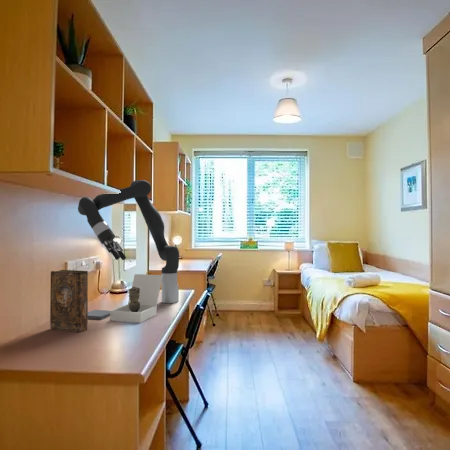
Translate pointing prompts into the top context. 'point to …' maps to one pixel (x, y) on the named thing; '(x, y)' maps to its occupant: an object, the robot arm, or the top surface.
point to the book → (69, 300)
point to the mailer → (141, 300)
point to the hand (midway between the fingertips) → (121, 259)
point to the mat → (98, 314)
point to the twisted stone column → (134, 299)
